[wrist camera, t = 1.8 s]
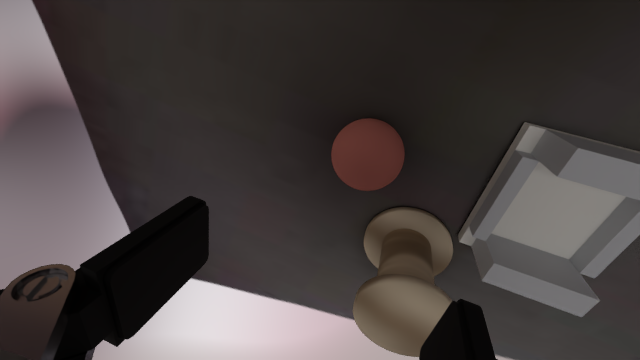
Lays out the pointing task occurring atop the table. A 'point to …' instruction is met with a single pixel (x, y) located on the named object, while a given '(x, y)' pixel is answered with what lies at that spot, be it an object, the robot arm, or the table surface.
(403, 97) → the table surface
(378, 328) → the bobbin
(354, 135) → the bead
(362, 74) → the table surface
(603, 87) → the table surface
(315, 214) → the table surface
